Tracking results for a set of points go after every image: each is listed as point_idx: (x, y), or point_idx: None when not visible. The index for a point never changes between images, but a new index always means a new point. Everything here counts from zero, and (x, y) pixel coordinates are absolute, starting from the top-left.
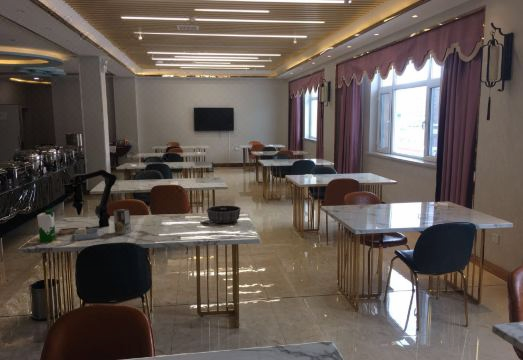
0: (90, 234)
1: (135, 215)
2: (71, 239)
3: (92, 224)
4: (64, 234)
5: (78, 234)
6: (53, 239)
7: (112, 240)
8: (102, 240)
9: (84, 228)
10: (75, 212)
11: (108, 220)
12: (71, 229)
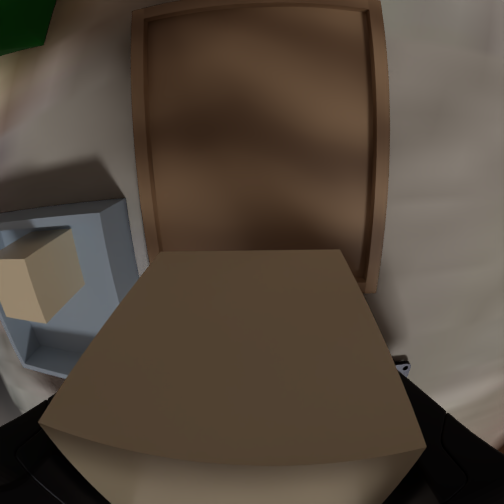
0: (6, 327)
1: (494, 445)
2: (13, 182)
3: (484, 296)
4: (135, 71)
5: (14, 243)
6: (8, 52)
7: (29, 392)
8: (18, 359)
9: (16, 312)
10: (107, 323)
11: None
12: (360, 109)
